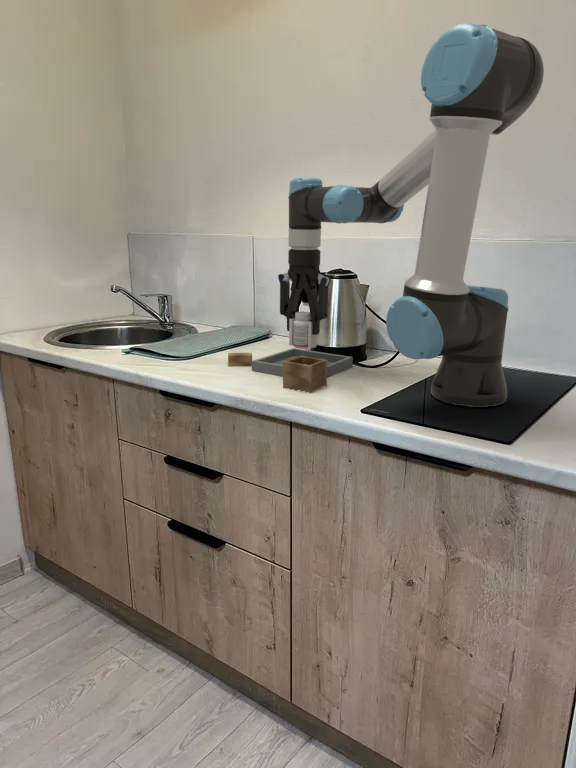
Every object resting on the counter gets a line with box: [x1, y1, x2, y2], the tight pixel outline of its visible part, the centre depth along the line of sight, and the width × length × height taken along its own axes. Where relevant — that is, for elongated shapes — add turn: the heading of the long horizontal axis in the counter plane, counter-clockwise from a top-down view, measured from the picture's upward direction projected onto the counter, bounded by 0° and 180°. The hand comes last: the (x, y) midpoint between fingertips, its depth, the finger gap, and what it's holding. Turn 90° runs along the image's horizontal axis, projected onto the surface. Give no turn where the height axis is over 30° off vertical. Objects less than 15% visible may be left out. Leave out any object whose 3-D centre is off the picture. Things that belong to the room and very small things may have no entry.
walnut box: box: [282, 356, 328, 394], centre depth 126 cm, size 7×7×6 cm
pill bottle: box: [292, 311, 311, 350], centre depth 139 cm, size 5×5×8 cm
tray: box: [251, 347, 354, 378], centre depth 141 cm, size 18×18×2 cm
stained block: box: [227, 352, 253, 368], centre depth 145 cm, size 6×3×3 cm, turn 95°
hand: (302, 345), depth 140 cm, fingers closed on pill bottle, 5 cm apart
